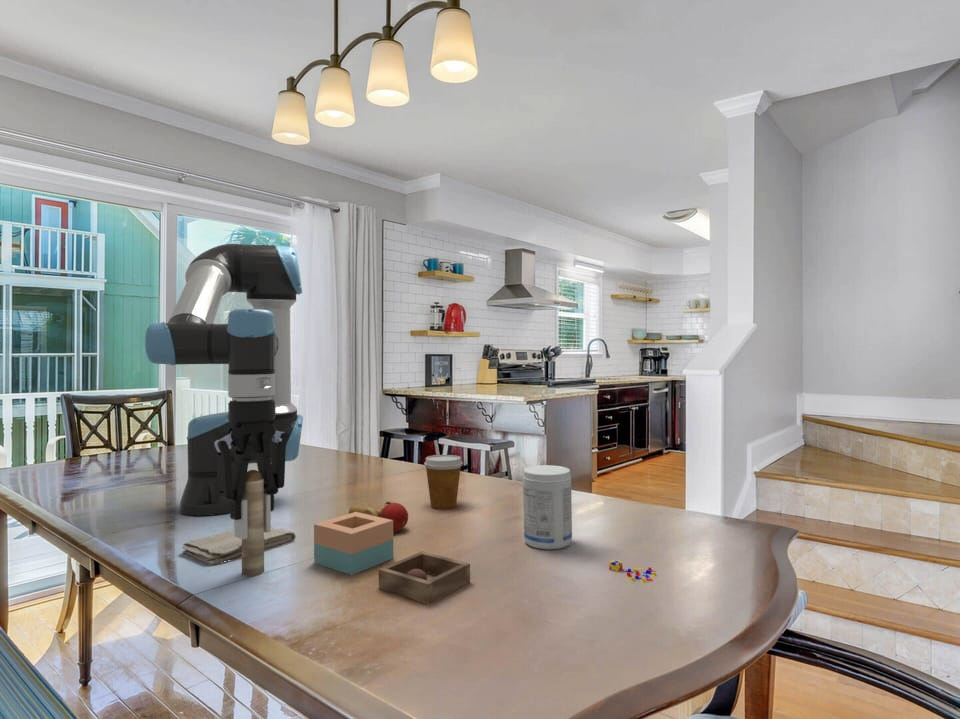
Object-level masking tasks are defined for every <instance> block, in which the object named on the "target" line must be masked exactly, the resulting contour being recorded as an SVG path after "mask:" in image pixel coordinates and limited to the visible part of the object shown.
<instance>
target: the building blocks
mask: <svg viewBox="0 0 960 719" xmlns="http://www.w3.org/2000/svg"><path fill="white" fill-rule="evenodd" d="M608 564H609V566H608V570H610V571H612V572H613V571H614V572H620V571H621V570H623V561H622V560H617V559H611V560H610V561H609V562H608ZM640 570H645V569H644V568H641V567H636V568H634V569H633V571H632V569H631V568H628V569H626V570H625V571H624V573H626V576H627V577H628V578H629V579H628V580H632V582H634V580H635V581H636V580H639V581H640V582H641V580H642V583H641V584H644V583H645V582H646V583H645V584H647V583H648V582H653V581H654V579H652V578H657V576H656V575H657V571H656V570H652V567H650V566H649V567H647V569H646V570H645V572H642V575H641V574H640V573H641V572H640ZM633 573H634V576H633V575H632V574H633ZM643 573H644V574H643ZM649 575H650V576H649ZM644 576H645V577H644Z"/></svg>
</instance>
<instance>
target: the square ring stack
mask: <svg viewBox="0 0 960 719" xmlns="http://www.w3.org/2000/svg"><path fill="white" fill-rule="evenodd" d="M313 552H314V553H313V559H314V560H313V562H314V564H317V565H320V566H323V567H325V568H329V569H332V570H336V571H338V572H342V573H345V574H347V575H351V576H353V575H356V574H358V573H360V572H362V571H365V570H367V569H368V570H369V569H370V568H373V567H375V566H377V565H379V564H382V563H385V562H387V561H389V560H392V559H394V532H393V520H390V519H385V518H381V517H377V516H372V515H368V514H363V513H359V512H354V513H350V514H349V513H347V514H344V515H341V516H338V517H333V518H331V519H326V520H323V521H320V522H316V523H314V524H313Z"/></svg>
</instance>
